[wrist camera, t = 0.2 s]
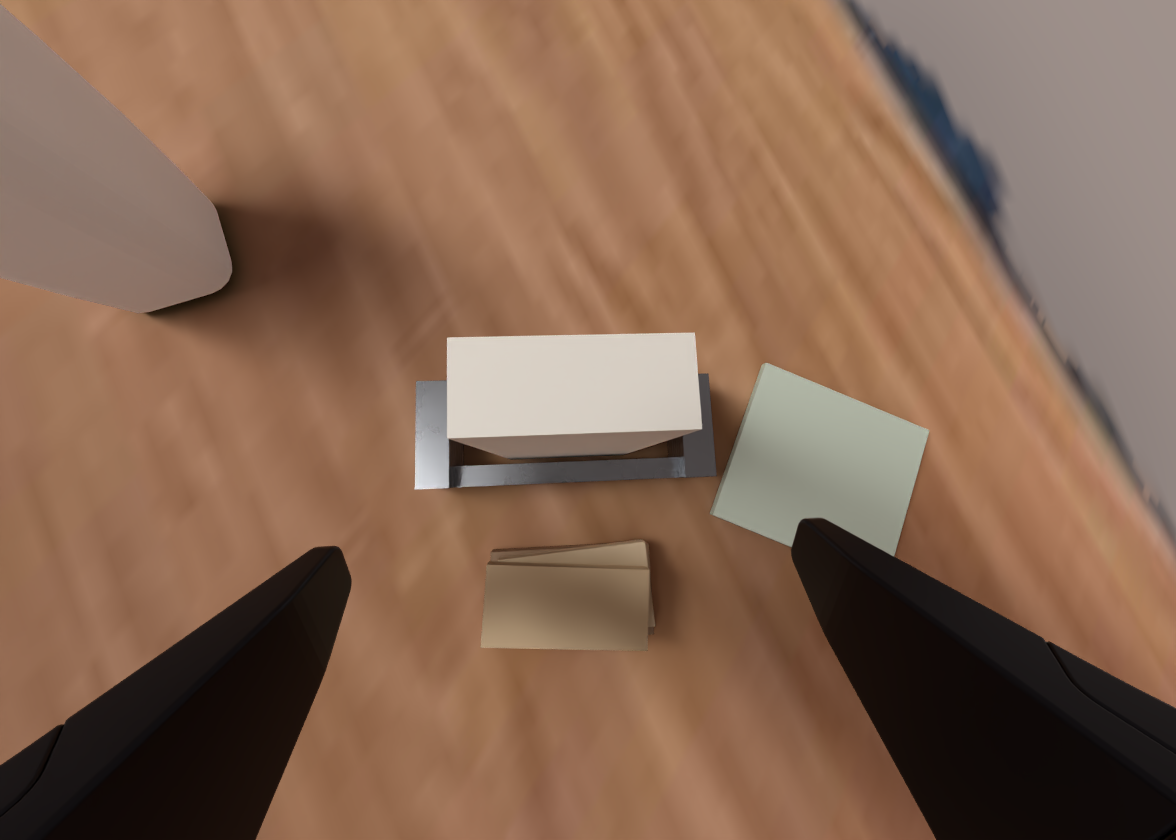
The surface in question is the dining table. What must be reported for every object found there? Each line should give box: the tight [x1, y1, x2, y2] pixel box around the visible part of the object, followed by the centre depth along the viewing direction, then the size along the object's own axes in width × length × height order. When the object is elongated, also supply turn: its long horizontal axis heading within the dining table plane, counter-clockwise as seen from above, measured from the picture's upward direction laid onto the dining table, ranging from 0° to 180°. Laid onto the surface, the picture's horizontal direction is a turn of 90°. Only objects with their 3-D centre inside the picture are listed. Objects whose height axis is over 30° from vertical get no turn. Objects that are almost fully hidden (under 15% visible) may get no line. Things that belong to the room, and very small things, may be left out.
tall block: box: [447, 333, 702, 460], centre depth 17 cm, size 2×6×13 cm, turn 93°
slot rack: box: [415, 374, 717, 489], centre depth 21 cm, size 5×14×3 cm, turn 93°
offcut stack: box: [481, 539, 655, 651], centre depth 21 cm, size 5×8×2 cm, turn 92°
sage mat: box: [710, 363, 929, 556], centre depth 23 cm, size 9×10×1 cm
